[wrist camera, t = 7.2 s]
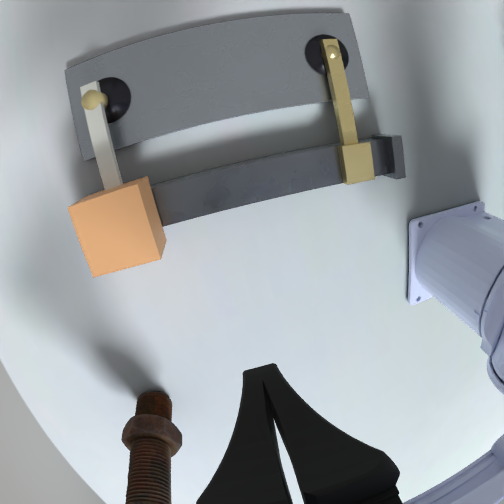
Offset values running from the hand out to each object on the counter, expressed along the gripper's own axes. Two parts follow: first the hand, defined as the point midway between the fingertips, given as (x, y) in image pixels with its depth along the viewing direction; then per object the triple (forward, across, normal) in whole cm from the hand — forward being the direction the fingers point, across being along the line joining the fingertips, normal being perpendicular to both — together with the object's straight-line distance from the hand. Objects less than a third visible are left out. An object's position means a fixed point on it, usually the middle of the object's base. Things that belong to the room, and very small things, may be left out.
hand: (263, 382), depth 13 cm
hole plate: (+10, -2, -14) cm, 17 cm away
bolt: (+11, +10, +10) cm, 18 cm away
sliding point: (+9, +5, -10) cm, 14 cm away
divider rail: (+10, -2, -10) cm, 14 cm away
